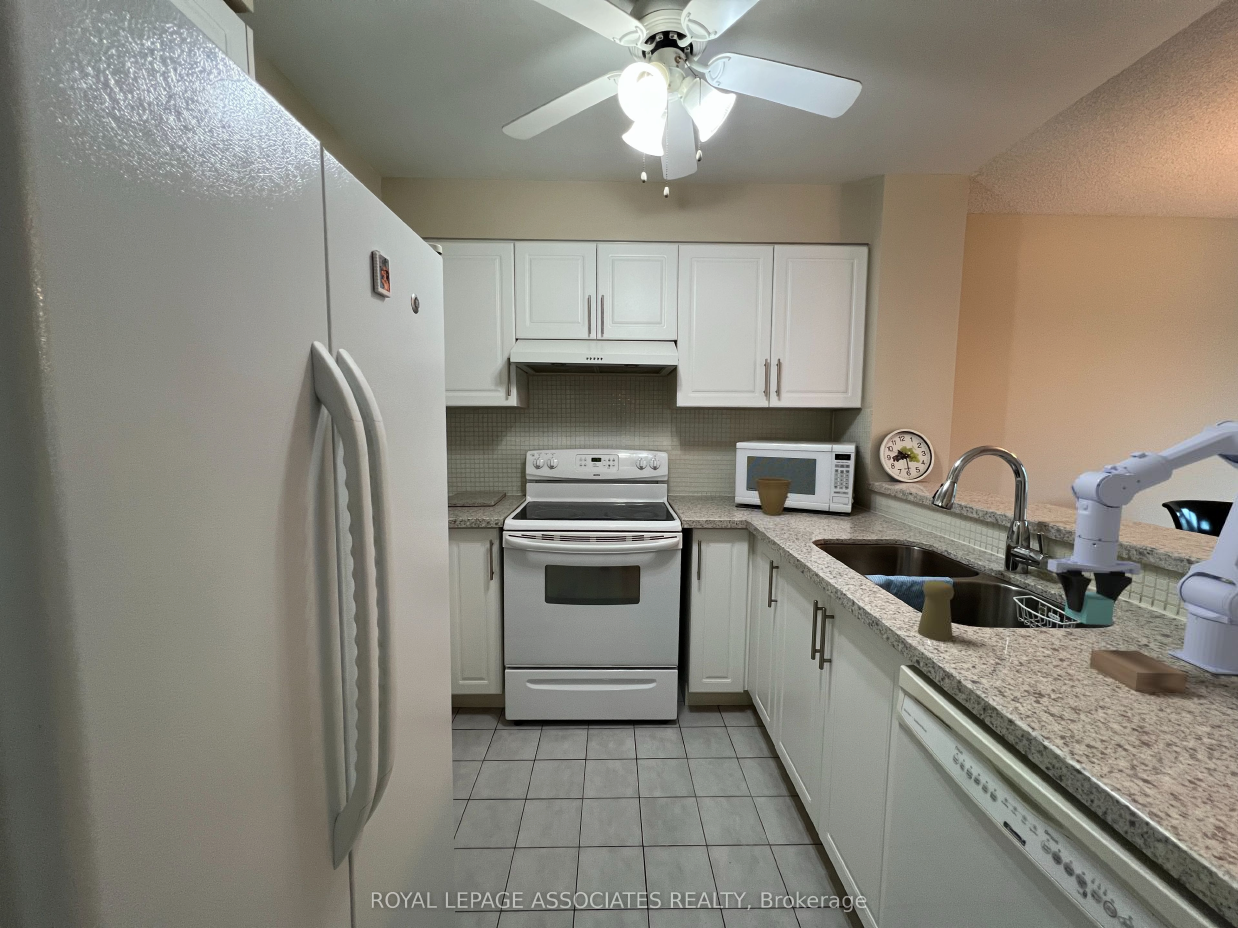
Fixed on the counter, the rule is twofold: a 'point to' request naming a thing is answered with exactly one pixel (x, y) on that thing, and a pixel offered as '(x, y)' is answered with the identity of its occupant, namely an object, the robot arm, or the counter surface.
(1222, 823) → the counter surface
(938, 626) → the cork
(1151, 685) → the walnut block
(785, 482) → the plant pot
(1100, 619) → the teal cube
